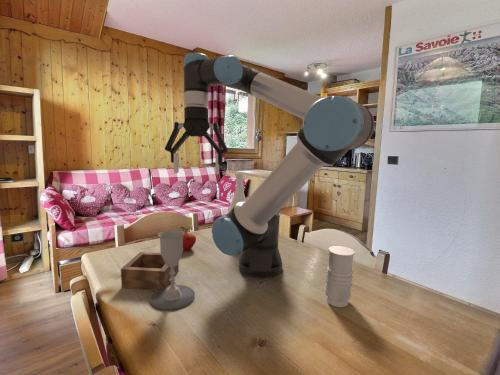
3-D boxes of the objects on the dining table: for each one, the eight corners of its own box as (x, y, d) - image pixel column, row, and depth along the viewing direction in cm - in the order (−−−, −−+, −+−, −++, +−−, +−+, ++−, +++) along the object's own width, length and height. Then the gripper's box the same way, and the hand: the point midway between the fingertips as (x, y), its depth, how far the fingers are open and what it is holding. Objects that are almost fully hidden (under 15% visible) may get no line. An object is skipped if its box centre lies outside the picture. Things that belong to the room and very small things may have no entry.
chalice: (178, 304, 75) (177, 239, 73) (154, 301, 77) (152, 237, 74) (189, 290, 83) (188, 230, 80) (167, 287, 84) (166, 228, 81)
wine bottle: (225, 239, 128) (226, 172, 123) (230, 232, 137) (231, 170, 132) (246, 241, 126) (248, 173, 121) (250, 234, 135) (252, 171, 130)
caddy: (178, 270, 96) (178, 253, 95) (165, 290, 83) (164, 271, 82) (140, 268, 97) (140, 251, 96) (121, 288, 84) (120, 269, 83)
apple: (187, 245, 120) (187, 222, 118) (199, 249, 116) (199, 225, 114) (173, 250, 113) (172, 226, 112) (184, 254, 110) (184, 229, 108)
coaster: (199, 287, 85) (199, 286, 85) (188, 311, 74) (188, 309, 73) (159, 285, 86) (159, 283, 86) (142, 308, 74) (142, 306, 74)
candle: (319, 297, 82) (323, 247, 80) (338, 292, 85) (342, 244, 82) (335, 310, 76) (339, 256, 73) (355, 305, 79) (360, 253, 76)
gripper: (236, 109, 94) (235, 173, 97) (162, 107, 95) (163, 171, 98) (234, 106, 86) (233, 176, 90) (153, 104, 87) (155, 173, 91)
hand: (196, 173), depth 94 cm, fingers open, 13 cm apart
